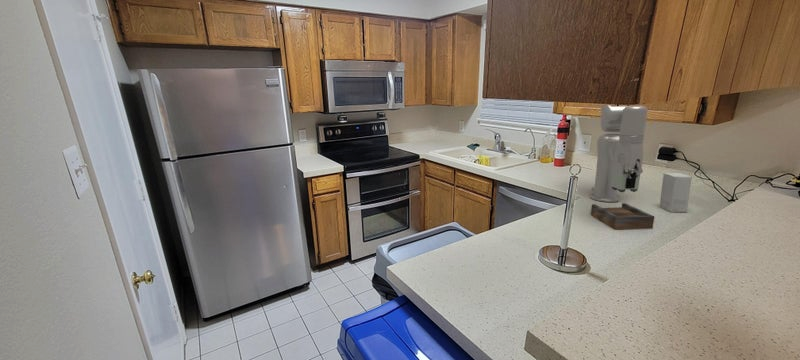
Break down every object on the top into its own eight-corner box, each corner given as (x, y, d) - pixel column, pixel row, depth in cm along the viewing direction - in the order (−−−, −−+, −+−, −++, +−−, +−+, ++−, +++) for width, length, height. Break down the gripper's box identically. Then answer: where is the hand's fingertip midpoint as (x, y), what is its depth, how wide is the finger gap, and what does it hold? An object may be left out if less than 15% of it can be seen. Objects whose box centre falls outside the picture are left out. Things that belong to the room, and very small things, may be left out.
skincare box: (686, 212, 134) (693, 176, 130) (668, 212, 135) (675, 176, 132) (674, 206, 142) (680, 172, 138) (657, 206, 143) (663, 172, 140)
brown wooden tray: (590, 215, 136) (591, 204, 135) (623, 213, 136) (625, 203, 135) (615, 229, 120) (617, 217, 119) (652, 228, 120) (654, 216, 119)
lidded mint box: (611, 189, 127) (614, 161, 125) (628, 188, 127) (632, 161, 125) (619, 192, 122) (623, 164, 120) (637, 192, 122) (641, 163, 120)
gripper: (606, 137, 128) (601, 181, 133) (637, 142, 112) (630, 192, 116) (625, 137, 128) (619, 180, 133) (658, 141, 112) (651, 191, 116)
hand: (624, 185), depth 124 cm, fingers closed on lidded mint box, 5 cm apart
